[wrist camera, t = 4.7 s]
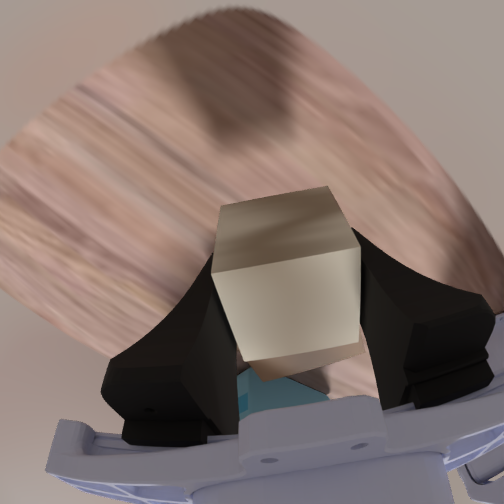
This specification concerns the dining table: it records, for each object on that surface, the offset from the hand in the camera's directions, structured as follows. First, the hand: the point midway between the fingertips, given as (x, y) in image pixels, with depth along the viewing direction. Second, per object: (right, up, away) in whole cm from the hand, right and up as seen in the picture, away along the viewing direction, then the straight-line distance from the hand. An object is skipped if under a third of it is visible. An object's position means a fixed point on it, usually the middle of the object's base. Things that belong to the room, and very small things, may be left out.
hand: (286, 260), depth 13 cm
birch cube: (0, +1, +1) cm, 1 cm away
